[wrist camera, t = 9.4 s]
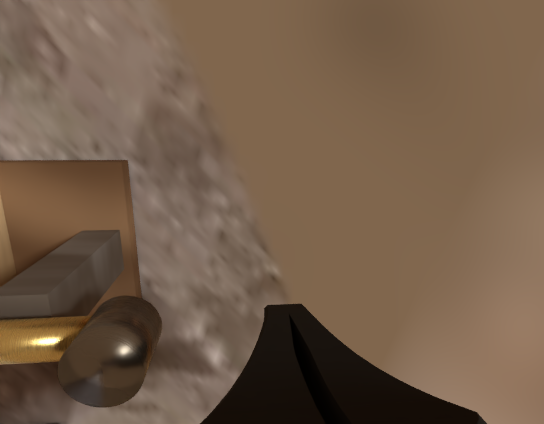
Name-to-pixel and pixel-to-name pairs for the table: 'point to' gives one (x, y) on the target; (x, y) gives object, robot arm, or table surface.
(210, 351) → the table surface
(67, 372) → the lock bolt
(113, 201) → the dock
